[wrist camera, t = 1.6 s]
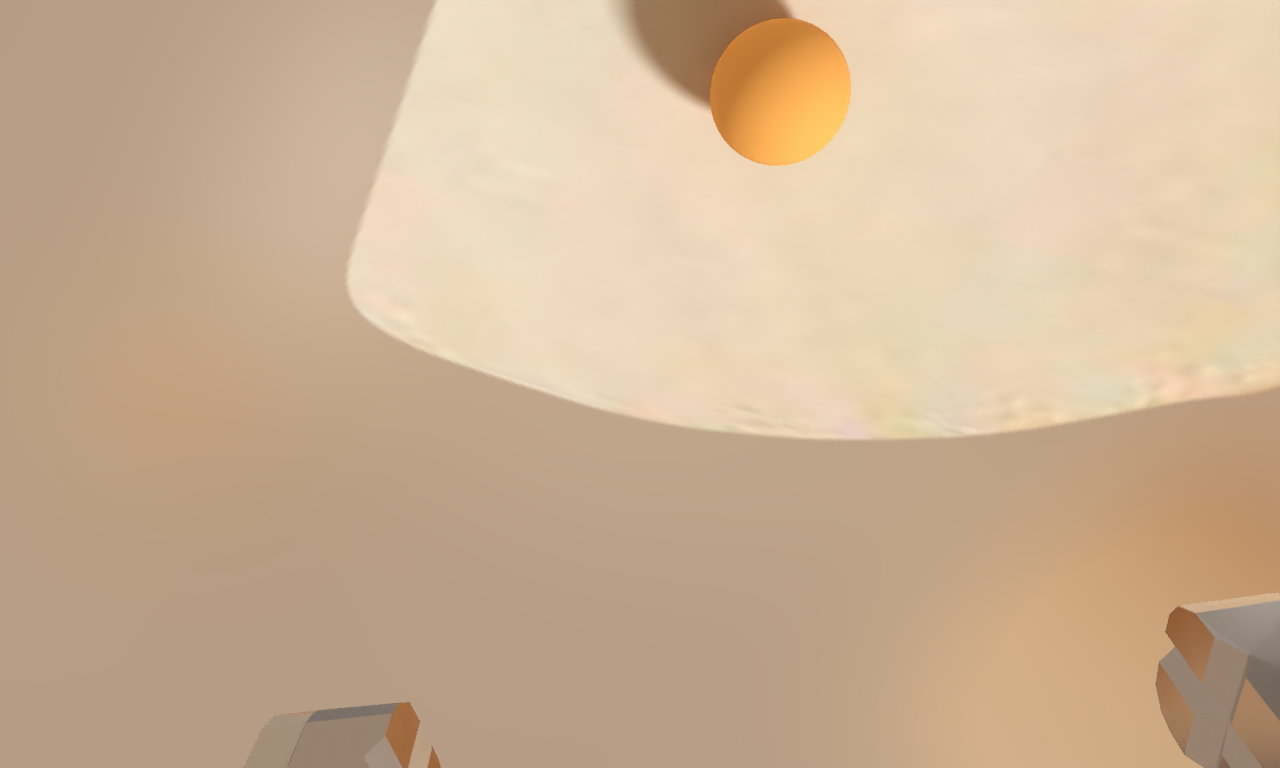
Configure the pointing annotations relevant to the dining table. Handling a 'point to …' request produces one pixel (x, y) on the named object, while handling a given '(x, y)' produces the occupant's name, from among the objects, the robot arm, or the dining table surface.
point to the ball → (780, 91)
